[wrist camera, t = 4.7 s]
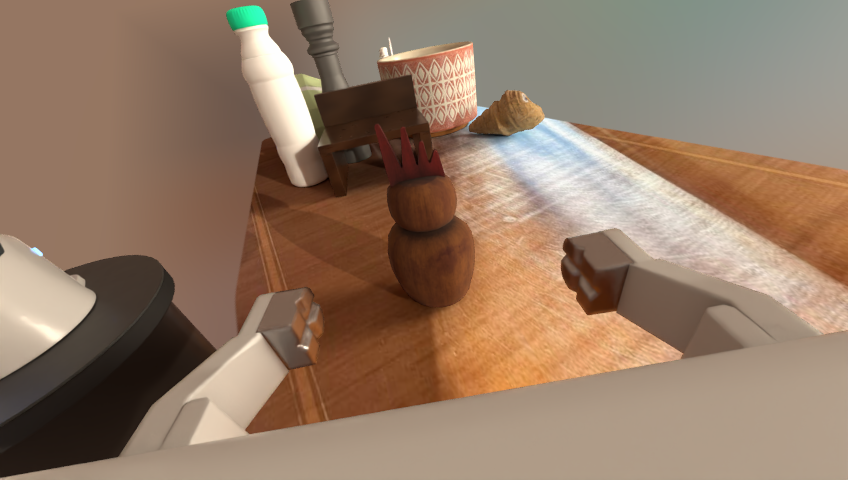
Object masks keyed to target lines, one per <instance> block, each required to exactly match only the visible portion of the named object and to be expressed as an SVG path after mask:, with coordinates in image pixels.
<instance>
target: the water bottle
mask: <svg viewBox="0 0 848 480" xmlns="http://www.w3.org/2000/svg"><path fill="white" fill-rule="evenodd" d="M226 16H227V20H228V22H229V24H230V26H231V28H232V30H233V31H235V34H236V35H237V36H238V37H239V38H240V40H241V57H242V59H243V60H242V61H241V68H242V74H243V77H244V79H245V80H246V82H247V83H248V84H249V86H250V89H251V92H252V95H253V98H254V100H255V103H256V105H257V107H258V109H259V112H260V114H261V116H262V119H263V121H264V123H265V125H266V127H267V129H268V131H269V133H270V135H271V137H272V139H273V141H274V142H275V144H276V147H277V151H278V154H279V156H280V158H281V160H282V162H283V163H284V165H285V168H286V171H287V174H288V176H289V179H290V181H291V183H292V184H293V185H295V186H297V187H308V186H312V185H316V184H318V183H321V182H323V181H324V180H326V179H327V178H328V174H327V171H326V169H325V166H324V163H323V161H322V158H321V155H320V153H319V150H318V144H319V142H320V141H319V139H318V137H317V135H316V134H315V130H314V126H313V123H312V119H311V116H310V113H309V111H308V108H307V105H306V102H305V100H304V97H303V94H302V92H301V89H300V87H299V85H298V82H297V80H296V78H295V76H294V70H293V66H292V64H291V62H290V60H289V59H288V58H287V57H286V55H285V54H284V53H283V52H281V51H280V48H279V47H278V45H277V44H276V43H275V42H274V41H273V40H272V39H271V38H270V37H269V35H268V28H269V27H268V26H267V25H268V23H267V19H266V16H265V14H264V12H263V10H262V9H261V8H260V7H259V6H244V7H238V8H234V9H231V10H229V11H228V12H227V13H226Z"/></svg>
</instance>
